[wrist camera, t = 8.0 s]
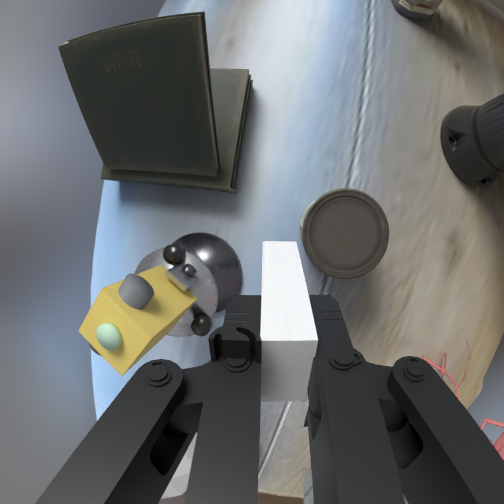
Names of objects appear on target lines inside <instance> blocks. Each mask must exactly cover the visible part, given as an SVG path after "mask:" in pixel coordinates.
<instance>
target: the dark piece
mask: <svg viewBox="0 0 504 504" xmlns="http://www.w3.org/2000/svg"><path fill="white" fill-rule="evenodd" d="M58 47H59V51H60V54H61V57H62V60H63V63H64V66H65V69H66V72H67V75H68V78H69V81H70V83H71V86H72V89H73V92H74V94H75V97H76V99H77V102H78V105H79V107H80V109H81V112H82V115H83V117H84V120H85V122H86V124H87V127H88V129H89V132H90V134H91V136H92V139H93V141H94V143H95V145H96V148H97V150H98V152H99V154H100V156H101V159H102V161H103V169H102V176H101V178H102V179H105V180H113V181H121V182H135V183H147V184H159V185H170V186H180V187H189V188H199V189H207V190H216V191H224V192H232V193H237V191H236V185H237V178H238V171H239V165H240V158H241V152H242V145H243V139H244V133H245V126H246V120H247V114H248V108H249V102H250V96H251V90H252V83H253V80H250V79H251V75H250V74H249V70H248V69H210V65H209V55H208V44H207V33H206V22H205V12H195V13H185V14H176V15H169V16H162V17H156V18H150V19H146V20H140V21H135V22H130V23H126V24H122V25H118V26H114V27H110V28H106V29H103V30H99V31H96V32H92V33H89V34H86V35H83V36H80V37H77V38H74V39H71V40H68V41H66V42H64V43H63V44H61V45H59V46H58Z"/></svg>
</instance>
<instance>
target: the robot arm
mask: <svg viewBox="0 0 504 504" xmlns="http://www.w3.org/2000/svg"><path fill="white" fill-rule="evenodd" d="M441 144H442V149H443V152H444V155H445V157H446V160H447V162H448V164H449V165H450V167H451V169H452V170H453V171H454V173H455V174H456V175H457V176H458V177H459V178H460V179H462V180H463V181H464V182H466V183H468V184H470V185H474V186H483V185H488V184H491V183H493V182H494V181H496V180H497V179H498V178H499V177H500V176H502V175H503V174H504V94H502V95H500V96H498V97H496V98H494V99H492V100H491V101H489V102H487V103H485V104H483V105H481V106H460V107H457V108H455V109H454V110H452V111H450V112H449V113H448V114H447V115H446V116H445V118H444V120H443V122H442V126H441ZM208 340H209V347H210V354H211V361H209V362H208V363H206V364H204V365H202V366H198V367H193V368H187V369H181V368H180V367H179V366H178V365H177V364H176V363H174V362H172V361H170V360H164V359H158V360H152V361H150V362H147V363H145V364H143V365H142V366H141V367H140V368H139V369H138V370H137V371H136V372H135V374H134V375H133V376H132V378H131V379H130V380H129V381H128V383H127V384H126V385H125V386H124V388H123V389H122V390H121V392H120V393H119V394H118V395H117V397H116V398H115V399H114V400H113V402H112V403H111V404H110V406H109V407H108V408H107V409H106V411H105V412H104V413H103V415H102V416H101V417H100V418H99V420H98V421H97V422H96V424H95V425H94V426H93V428H92V429H91V430H90V431H89V433H88V434H87V436H86V437H85V438H84V439H83V441H82V442H81V443H80V445H79V446H78V447H77V448H76V450H75V451H74V452H73V454H72V455H71V456H70V458H69V459H68V460H67V462H66V463H65V464H64V466H63V467H62V468H61V470H60V471H59V472H58V474H57V475H56V476H55V478H54V479H53V480H52V482H51V483H50V484H49V486H48V487H47V488H46V490H45V491H44V493H43V494H42V495H41V496H40V498H39V499H38V501H37V502H36V503H35V504H158V503H159V501H160V499H161V497H162V496H163V494H164V492H165V490H166V488H167V487H168V485H169V483H170V481H171V479H172V477H173V475H174V474H175V472H176V470H177V468H178V466H179V464H180V462H181V461H182V459H183V457H184V455H185V453H186V451H187V449H188V447H189V445H190V443H191V442H192V440H193V438H194V436H195V434H196V432H197V437H196V442H195V447H194V453H193V458H192V463H191V469H190V474H189V480H188V485H187V491H186V496H185V502H184V504H257V491H258V465H259V436H260V402H261V401H306V399H307V394H308V399H309V407H308V411H307V415H306V419H305V423H304V427H307V426H308V432H309V443H310V456H311V469H312V483H313V500H314V504H405V502H404V497H403V494H404V496H405V498H406V500H407V501H408V503H409V504H504V460H503V459H502V457H501V456H500V454H499V453H498V452H497V450H496V449H495V447H494V446H493V445H492V443H491V442H490V440H489V439H488V438H487V436H486V435H485V434H484V432H483V431H482V429H481V428H480V427H479V426H478V424H477V423H476V421H475V420H474V419H473V418H472V416H471V415H470V414H469V412H468V411H467V410H466V408H465V407H464V406H463V405H462V403H461V402H460V401H459V400H458V398H457V397H456V396H455V395H454V393H453V392H452V391H451V390H450V388H449V387H448V386H447V385H446V383H445V382H444V381H443V380H442V378H441V377H440V376H439V375H438V374H437V372H436V371H435V370H434V369H433V368H432V366H431V365H430V364H428V363H427V362H426V361H425V360H423V359H420V358H418V357H413V356H407V357H402V358H400V359H399V360H397V361H396V362H395V364H394V366H393V367H389V366H382V365H376V364H372V363H369V362H367V361H366V360H365V358H364V357H363V355H362V354H361V353H360V352H359V351H357V350H356V349H354V348H353V346H352V343H351V340H350V337H349V334H348V331H347V328H346V325H345V322H344V321H343V316H342V313H341V310H340V307H339V305H338V302H337V301H336V300H335V299H334V298H333V297H332V296H331V295H308V290H307V286H306V282H305V277H304V273H303V269H302V264H301V260H300V256H299V252H298V248H297V244H296V242H283V241H263V261H262V295H234V297H233V298H232V299H231V300H230V301H229V302H228V304H227V309H226V314H225V319H224V324H223V326H222V327H219V328H218V329H216V330H215V331H214V332H212V333H211V335H210V337H209V339H208Z"/></svg>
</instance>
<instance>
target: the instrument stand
mask: <svg viewBox="0 0 504 504" xmlns="http://www.w3.org/2000/svg"><path fill="white" fill-rule="evenodd" d="M159 265H162V266H163V267H164V268H165V269H166V270H167V271H166V272H165V273H164V274H165V275H166V276H167V277H168V278H169V279H170V280H172V281H173V282H174V283H175V284H176V285H177V286H178V287H179V288H180V289H181V290H182V291H186V290H187V289H188V290H189V291H190V292H191V293H192V294H193V295H194V296H195V297H196V298H197V300H196V301H195V302H194V303H193V304H192V306H191V307H190V308H189V309H188V310H187V311H186V313H185V314H184V315H183V316H182V317H181V319H180V320H179V321H178V322H177V323H176V325H175V326H174V327H173V328H172V329H171V331H170V332H168V333H167V335H170V336H176V337H184V336H190V335H193V334H196V335H198V336H205V335H206V334H207V333H208V332H209V331H210V329H211V328H212V325H213V323H212V320H211V319H212V317H213V315H214V313H217V312H219V311H221V310H223V309H225V308H226V307H227V304H228V302H229V301H230V300H231V299H232V298H233V297H234V295H237V294H238V292H239V289H240V286H241V282H242V269H241V264H240V261H239V259H238V256H237V255H236V253H235V251H234V250H233V249H232V247H231V246H230V245H229V244H228V243H227V242H225V241H224V240H223V239H221V238H219V237H217V236H215V235H212V234H209V233H192V234H188V235H185V236H183V237H181V238H179V239H178V240H176V241H175V242H174V243H173V244H172V245H168V246H167V247H165V248H163V249H159V250H156V251H154V252H152V253H150V254H149V255H147V256H146V257H145V258H144V259H143V260H142V261H141V262H140V264H139V265H138V267H137V269H136V271H135V274H139V273H141V272H144V271H146V270H149V269H152V268H154V267H157V266H159Z"/></svg>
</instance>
